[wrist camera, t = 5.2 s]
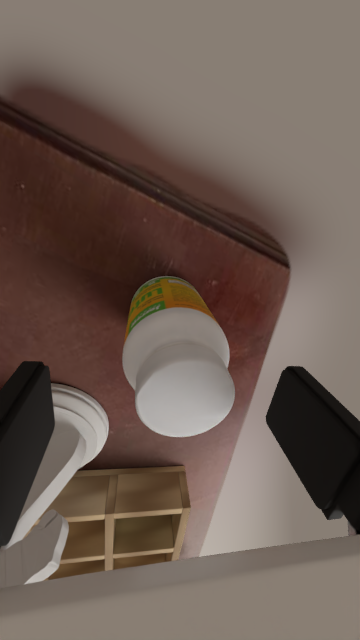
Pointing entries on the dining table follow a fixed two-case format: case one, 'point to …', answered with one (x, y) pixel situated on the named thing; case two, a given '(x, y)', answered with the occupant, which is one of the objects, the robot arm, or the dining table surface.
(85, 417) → the chess piece
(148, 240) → the dining table surface
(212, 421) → the supplement bottle
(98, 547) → the grid
